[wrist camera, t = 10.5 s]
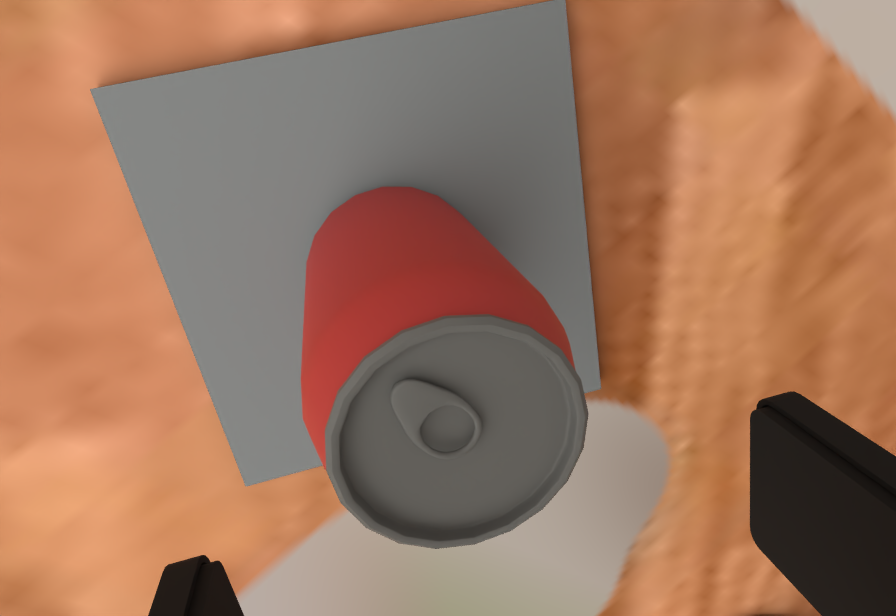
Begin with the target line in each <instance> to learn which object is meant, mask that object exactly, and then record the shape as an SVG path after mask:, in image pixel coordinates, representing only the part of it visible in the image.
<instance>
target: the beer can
mask: <svg viewBox="0 0 896 616" xmlns="http://www.w3.org/2000/svg"><path fill="white" fill-rule="evenodd" d="M301 395H302V414H303V421H304V423H305V425H306V428H307V430H308V433H309V435H310V437H311V440H312V442H313V444H314V446H315V449H316V451H317V453H318V455H319V457H320V460H321V462H322V464H323V466H324V468H325V470H326V471H327V473H328V476H329V478H330V480H331V482H332V484H333V487H334V489H335V491H336V493H337V496H338V498H339V500H340V502H341V504H342V505H343V506H344V507H345V508H346V509H347V510H348V511H350V512H351V513H352V514H353V515H354V516H355V517H356V518H357V519H358V520H359V521H360V522H361V523H362V524H363V525H364V526H365V527H366V528H368V529H370V530H372V531H374V532H376V533H378V534H380V535H382V536H385V537H387V538H389V539H391V540H393V541H395V542H397V543H400V544H408V545H414V546H421V547H427V548H435V549H439V548H447V547H456V546H465V545H473V544H477V543H479V542H482V541H485V540H487V539H490V538H493V537H495V536H498V535H501V534H504V533H506V532H509V531H511V530H513V529H514V528H516V527H517V526H519V525H520V524H521V523H523V522H524V521H526V520H527V519H529V518H530V517H532V516H533V515H535V514H536V513H538V512H539V511H541V510H542V509H543V508H544V507H545V506H546V505H547V504H548V503H549V501H550V500H551V499H552V498H553V497H554V496H555V495H556V493H557V492H558V491H559V490H560V489H561V488H562V487H563V486H564V484H565V483H566V482H567V481H568V479H569V477H570V475H571V473H572V471H573V469H574V467H575V465H576V462H577V460H578V458H579V456H580V454H581V452H582V450H583V448H584V441H585V434H586V427H587V420H588V409H587V405H586V400H585V395H584V390H583V386H582V381H581V378H580V377H579V375H578V374H577V372H576V370H575V366H574V361H573V356H572V352H571V347H570V342H569V340H568V337H567V334H566V332H565V329H564V327H563V326H562V324H561V322H560V321H559V319H558V318H557V316H556V315H555V313H554V312H553V310H552V308H551V307H550V305H549V304H548V302H547V301H546V299H545V298H544V296H543V295H542V294H541V293H540V292H539V291H538V290H537V289H536V288H535V287H534V286H533V285H532V284H531V283H530V282H529V281H528V280H527V279H526V278H525V277H524V276H523V275H522V274H521V273H520V272H519V271H518V270H517V269H516V268H515V267H514V266H513V265H512V264H511V263H510V262H509V261H508V260H507V259H506V258H505V257H504V256H503V255H502V254H501V253H500V252H499V251H498V250H497V249H496V248H495V247H494V246H493V245H492V244H491V243H490V242H489V241H488V240H487V239H486V238H485V237H484V236H483V235H482V234H481V233H480V232H479V231H478V230H477V229H476V228H475V227H474V226H473V225H472V224H471V223H470V222H469V221H468V220H467V219H466V218H465V217H464V216H463V215H462V214H461V213H460V212H458V211H457V210H456V209H455V208H453V207H452V206H451V205H449V204H448V203H447V202H445V201H444V200H443V199H441V198H440V197H439V196H437V195H434V194H431V193H428V192H425V191H422V190H419V189H416V188H413V187H380V188H376V189H373V190H370V191H367V192H364V193H361V194H358V195H355V196H353V197H352V198H350V199H349V200H348V201H346V202H345V203H343V204H342V205H341V206H339V207H338V208H337V209H335V210H334V211H332V212H331V213H330V215H329V216H328V217H327V219H326V220H325V222H324V223H323V224H322V226H321V227H320V229H319V230H318V231H317V233H316V234H315V236H314V239H313V242H312V245H311V249H310V252H309V255H308V259H307V262H306V281H305V301H304V322H303V342H302V362H301Z"/></svg>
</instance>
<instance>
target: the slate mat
mask: <svg viewBox="0 0 896 616" xmlns="http://www.w3.org/2000/svg"><path fill="white" fill-rule="evenodd" d="M90 91H91V93H92V96H93V98H94V101H95V103H96V106H97V109H98V111H99V114H100V116H101V119H102V121H103V124H104V126H105V129H106V131H107V134H108V137H109V139H110V142H111V144H112V147H113V149H114V152H115V154H116V157H117V159H118V162H119V165H120V167H121V170H122V172H123V175H124V177H125V180H126V182H127V185H128V188H129V190H130V193H131V195H132V198H133V200H134V203H135V205H136V208H137V210H138V213H139V216H140V218H141V221H142V223H143V226H144V228H145V231H146V233H147V236H148V238H149V241H150V244H151V246H152V249H153V251H154V254H155V256H156V259H157V261H158V264H159V266H160V269H161V272H162V274H163V277H164V279H165V282H166V284H167V287H168V289H169V292H170V295H171V297H172V300H173V302H174V305H175V307H176V310H177V312H178V315H179V317H180V320H181V323H182V325H183V328H184V330H185V333H186V335H187V338H188V340H189V343H190V345H191V348H192V351H193V353H194V356H195V358H196V361H197V363H198V366H199V368H200V371H201V373H202V376H203V379H204V381H205V384H206V386H207V389H208V391H209V394H210V396H211V399H212V402H213V404H214V407H215V409H216V412H217V414H218V417H219V419H220V422H221V424H222V427H223V430H224V432H225V435H226V437H227V440H228V442H229V445H230V447H231V450H232V452H233V455H234V458H235V460H236V463H237V465H238V468H239V470H240V473H241V475H242V478H243V481H244V483H245V486H250V485H253V484H257V483H261V482H264V481H268V480H271V479H275V478H279V477H282V476H286V475H290V474H293V473H297V472H301V471H304V470H308V469H311V468H315V467H319V466H322V465H323V464H322V462H321V460H320V457H319V455H318V453H317V451H316V449H315V446H314V444H313V442H312V440H311V437H310V435H309V433H308V430H307V428H306V425H305V423H304V421H303V414H302V395H301V362H302V342H303V322H304V301H305V281H306V262H307V259H308V255H309V252H310V249H311V245H312V242H313V239H314V236H315V234H316V233H317V231H318V230H319V229H320V227H321V226H322V224H323V223H324V222H325V220H326V219H327V217H328V216H329V215H330V213H331V212H332V211H334V210H335V209H337V208H338V207H339V206H341V205H342V204H343V203H345V202H346V201H348V200H349V199H350V198H352V197H353V196H355V195H358V194H361V193H364V192H367V191H370V190H373V189H376V188H380V187H413V188H416V189H419V190H422V191H425V192H428V193H431V194H434V195H437V196H439V197H440V198H441V199H443V200H444V201H445V202H447V203H448V204H449V205H451V206H452V207H453V208H455V209H456V210H457V211H458V212H460V213H461V214H462V215H463V216H464V217H465V218H466V219H467V220H468V221H469V222H470V223H471V224H472V225H473V226H474V227H475V228H476V229H477V230H478V231H479V232H480V233H481V234H482V235H483V236H484V237H485V238H486V239H487V240H488V241H489V242H490V243H491V244H492V245H493V246H494V247H495V248H496V249H497V250H498V251H499V252H500V253H501V254H502V255H503V256H504V257H505V258H506V259H507V260H508V261H509V262H510V263H511V264H512V265H513V266H514V267H515V268H516V269H517V270H518V271H519V272H520V273H521V274H522V275H523V276H524V277H525V278H526V279H527V280H528V281H529V282H530V283H531V284H532V285H533V286H534V287H535V288H536V289H537V290H538V291H539V292H540V293H541V294H542V295H543V296H544V298H545V299H546V301H547V302H548V304H549V305H550V307H551V308H552V310H553V312H554V313H555V315H556V316H557V318H558V319H559V321H560V322H561V324H562V326H563V327H564V329H565V332H566V334H567V337H568V340H569V342H570V347H571V352H572V356H573V361H574V366H575V370H576V372H577V374H578V375H579V377H580V378H581V381H582V386H583V390H584V393H588V392H591V391H595V390H599V389H601V383H600V372H599V361H598V350H597V339H596V328H595V317H594V307H593V296H592V285H591V274H590V263H589V252H588V241H587V230H586V219H585V209H584V198H583V187H582V176H581V165H580V154H579V143H578V132H577V122H576V111H575V100H574V89H573V78H572V67H571V56H570V45H569V34H568V24H567V13H566V2H565V0H552V1H547V2H542V3H537V4H532V5H526V6H521V7H516V8H511V9H505V10H500V11H495V12H490V13H485V14H479V15H474V16H469V17H464V18H459V19H453V20H448V21H443V22H438V23H433V24H427V25H422V26H417V27H412V28H407V29H401V30H396V31H391V32H386V33H381V34H375V35H370V36H365V37H360V38H354V39H349V40H344V41H339V42H334V43H328V44H323V45H318V46H313V47H308V48H302V49H297V50H292V51H287V52H282V53H276V54H271V55H266V56H261V57H256V58H250V59H245V60H240V61H235V62H230V63H224V64H219V65H214V66H209V67H203V68H198V69H193V70H188V71H183V72H177V73H172V74H167V75H162V76H157V77H151V78H146V79H141V80H136V81H131V82H125V83H120V84H115V85H110V86H105V87H99V88H94V89H90Z"/></svg>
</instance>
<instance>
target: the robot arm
mask: <svg viewBox="0 0 896 616" xmlns="http://www.w3.org/2000/svg"><path fill="white" fill-rule="evenodd" d="M750 531H751V534H752V537H753V539H754V541H755V543H756V545H757V546H758V548H759V549H760V550H761V551H762V552H763V553H764V554H765V555H766V556H767V558H768V559H769V560H770V561H771V562H772V563H773V564H774V565H775V566H776V567H777V568H778V569H779V570H780V571H781V572H782V574H783V575H784V576H785V577H786V578H787V579H788V580H789V581H790V582H791V583H792V584H793V585H794V586H795V587H796V588H797V590H798V591H799V592H800V593H801V594H802V595H803V596H804V597H805V598H806V599H807V600H808V601H809V602H810V603H811V604H812V606H813V607H814V608H815V609H816V610H817V611H818V612H819V613H820V614H821V615H822V616H896V456H894V455H893V454H891V453H890V452H888V451H887V450H885V449H884V448H882V447H880V446H879V445H877V444H876V443H874V442H873V441H871V440H870V439H868V438H867V437H865V436H864V435H862V434H860V433H859V432H857V431H856V430H854V429H853V428H851V427H850V426H848V425H847V424H845V423H844V422H842V421H840V420H839V419H837V418H836V417H834V416H833V415H831V414H830V413H828V412H827V411H825V410H824V409H822V408H820V407H819V406H817V405H816V404H814V403H813V402H811V401H810V400H808V399H807V398H805V397H804V396H802V395H800V394H798V393H796V392H787V393H783V394H779V395H776V396H772V397H769V398H765V399H762V400H760V401H759V402H758V404H757V409H756V410H754V411H752V413H751V417H750ZM148 616H244V615H243V612H242V610H241V607H240V605H239V603H238V600H237V598H236V596H235V593H234V591H233V588H232V586H231V584H230V581H229V579H228V577H227V574H226V572H225V570H224V567H223V565H222V563H221V562H220V561H214V562H210V561H209V559H208V558H207V557H206V556H205V555H201V556H198V557H194V558H190V559H187V560H183V561H180V562H176V563H172V564H169V565H167V566H166V567H165V569H164V571H163V573H162V576H161V579H160V582H159V585H158V588H157V591H156V594H155V597H154V600H153V603H152V606H151V609H150V612H149V615H148Z"/></svg>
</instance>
